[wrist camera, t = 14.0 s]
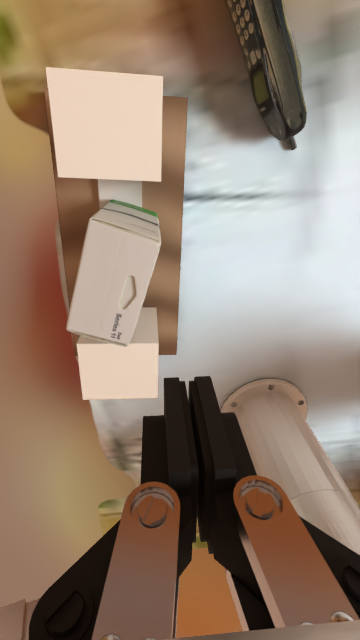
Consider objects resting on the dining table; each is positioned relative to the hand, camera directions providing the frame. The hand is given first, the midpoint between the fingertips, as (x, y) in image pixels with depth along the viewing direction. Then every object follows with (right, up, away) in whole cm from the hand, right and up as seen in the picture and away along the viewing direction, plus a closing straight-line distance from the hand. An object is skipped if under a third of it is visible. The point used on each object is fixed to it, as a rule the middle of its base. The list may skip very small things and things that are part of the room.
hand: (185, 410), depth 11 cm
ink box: (-6, +11, +20) cm, 24 cm away
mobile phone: (+7, +26, +17) cm, 32 cm away
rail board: (-6, +11, +22) cm, 26 cm away
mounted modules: (-6, +11, +20) cm, 24 cm away
